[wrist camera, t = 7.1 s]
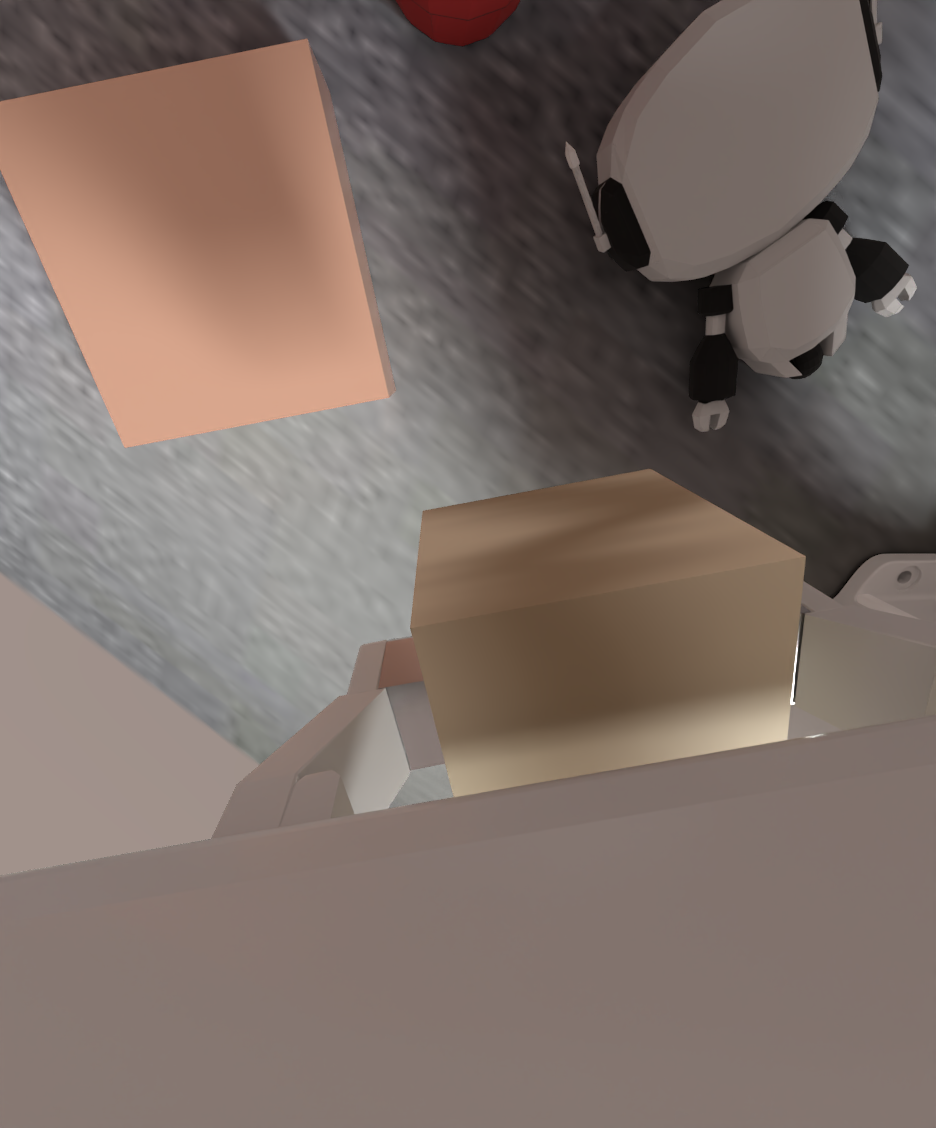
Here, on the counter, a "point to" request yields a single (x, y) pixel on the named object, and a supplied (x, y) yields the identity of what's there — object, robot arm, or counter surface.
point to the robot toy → (750, 185)
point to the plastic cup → (457, 18)
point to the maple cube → (600, 630)
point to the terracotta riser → (202, 241)
